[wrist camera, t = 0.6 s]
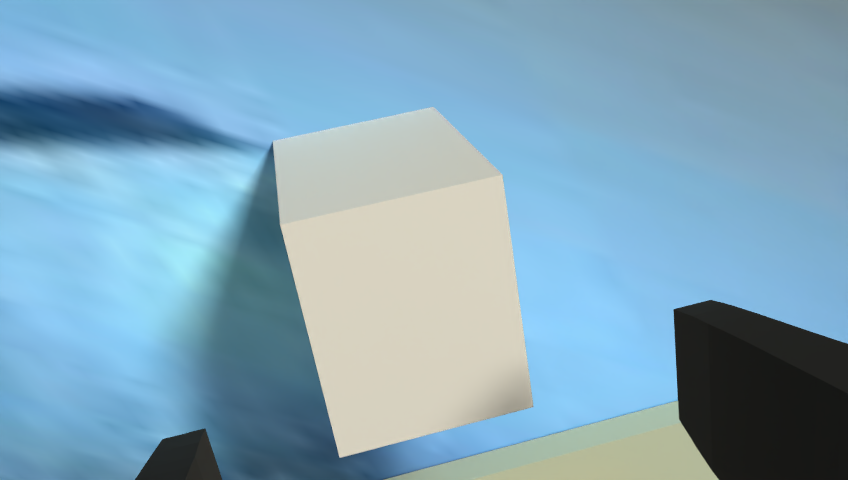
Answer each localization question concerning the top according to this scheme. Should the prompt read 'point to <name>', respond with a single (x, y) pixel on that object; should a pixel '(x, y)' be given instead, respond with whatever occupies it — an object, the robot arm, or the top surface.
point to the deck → (590, 454)
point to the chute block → (403, 277)
